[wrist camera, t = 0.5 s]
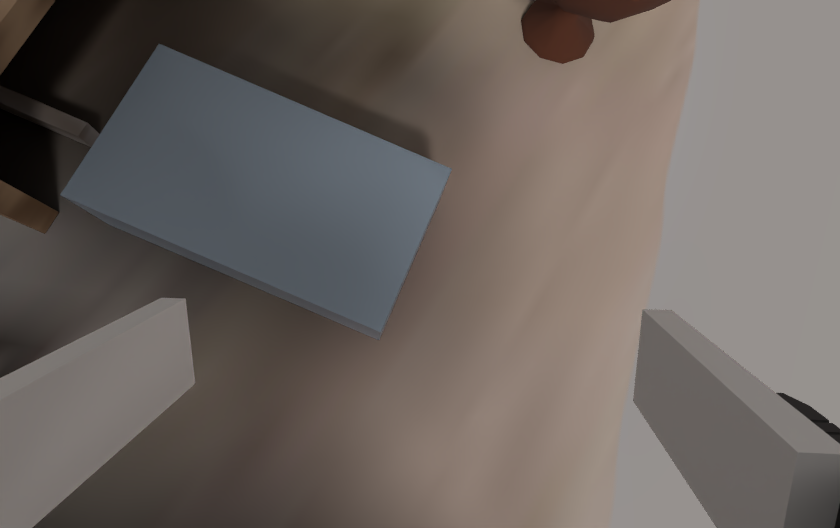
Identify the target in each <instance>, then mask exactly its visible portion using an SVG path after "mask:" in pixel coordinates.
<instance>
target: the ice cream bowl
mask: <svg viewBox="0 0 840 528" xmlns="http://www.w3.org/2000/svg"><path fill="white" fill-rule="evenodd" d="M669 1H671V0H536V1H535V2H534V3H533V4H532V5H531V7H530V8H529V10H528V11H527V13H526V14H525V16H524V17H523V19H522V20H521V22H522V29H523V36H524V41H525V42H526V43H527V44H528V45H529V46H530V47H531V49H532V50H533V51H534V52H535V53H536V54H537V55H538V56H539V57H540V58H544V59H547V60H551V61H555V62H558V63H562V64H563V63H567V62H570V61H573V60H576V59H579V58H582V57H583V56H584V55H585V53H586V52H587V50H588V48H589V47H590V45H591V43H592V42H593V39H594V30H593V25H592V19H595V20H599V21H604V22H610V23H611V22H614V21H617V20H620V19H623V18H627V17H630V16H633V15H636V14H639V13H642V12H645V11H649V10H652V9H654V8H656V7H658V6H660V5H662V4H665V3H667V2H669Z"/></svg>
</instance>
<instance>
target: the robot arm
mask: <svg viewBox="0 0 840 528" xmlns="http://www.w3.org/2000/svg"><path fill="white" fill-rule="evenodd" d="M194 384H195V377H194V368H193V359H192V350H191V342H190V333H189V324H188V315H187V307H186V298H160V299H158V300H156V301H154V302H152V303H150V304H148V305H146V306H144V307H142V308H140V309H138V310H136V311H134V312H132V313H130V314H128V315H126V316H124V317H122V318H120V319H118V320H116V321H114V322H112V323H110V324H108V325H106V326H104V327H102V328H100V329H98V330H96V331H94V332H92V333H90V334H88V335H86V336H84V337H82V338H80V339H78V340H76V341H74V342H72V343H70V344H68V345H66V346H64V347H62V348H60V349H58V350H56V351H54V352H52V353H50V354H48V355H46V356H44V357H42V358H40V359H38V360H36V361H34V362H32V363H30V364H28V365H26V366H24V367H22V368H20V369H18V370H16V371H14V372H12V373H10V374H8V375H6V376H4V377H2V378H0V528H32V527H34V526H35V525H36V524H37V523H38V522H39V521H40V520H41V519H43V518H44V517H45V516H46V515H47V514H48V513H49V512H51V511H52V510H53V509H54V508H55V507H56V506H57V505H58V504H60V503H61V502H62V501H63V500H64V499H65V498H66V497H68V496H69V495H70V494H71V493H72V492H73V491H74V490H75V489H77V488H78V487H79V486H80V485H81V484H82V483H83V482H85V481H86V480H87V479H88V478H89V477H90V476H91V475H92V474H94V473H95V472H96V471H97V470H98V469H99V468H100V467H102V466H103V465H104V464H105V463H106V462H107V461H108V460H109V459H111V458H112V457H113V456H114V455H115V454H116V453H117V452H119V451H120V450H121V449H122V448H123V447H124V446H125V445H126V444H128V443H129V442H130V441H131V440H132V439H133V438H134V437H136V436H137V435H138V434H139V433H140V432H141V431H142V430H143V429H145V428H146V427H147V426H148V425H149V424H150V423H151V422H153V421H154V420H155V419H156V418H157V417H158V416H159V415H160V414H162V413H163V412H164V411H165V410H166V409H167V408H168V407H170V406H171V405H172V404H173V403H174V402H175V401H176V400H177V399H179V398H180V397H181V396H182V395H183V394H184V393H185V392H186V391H188V390H189V389H190V388H191V387H192V386H193V385H194ZM633 401H634V403H635V404H636V406H637V407H638V409H639V410H640V412H641V413H642V415H643V416H644V418H645V420H646V421H647V423H648V424H649V426H650V427H651V429H652V430H653V432H654V433H655V435H656V436H657V438H658V439H659V441H660V442H661V444H662V445H663V447H664V448H665V450H666V451H667V453H668V454H669V456H670V457H671V459H672V461H673V462H674V464H675V465H676V467H677V468H678V470H679V471H680V473H681V474H682V476H683V477H684V479H685V480H686V482H687V483H688V485H689V486H690V488H691V489H692V491H693V492H694V494H695V495H696V497H697V498H698V500H699V501H700V503H701V504H702V506H703V507H704V509H705V511H706V512H707V514H708V515H709V517H710V518H711V520H712V521H713V523H714V524H715V526H716V527H717V528H840V429H839V428H838V427H837V426H836V425H834V424H833V423H829V420H827V419H826V418H825V417H824V416H822V415H821V414H819V413H818V412H817V411H816V410H814V409H813V408H812V407H810V406H808V405H807V404H805V403H802V402H800V401H798V400H796V399H794V398H792V397H790V396H788V395H786V394H784V393H775V392H774V391H773V390H771V389H770V388H769V387H768V386H766V385H765V384H764V383H763V382H761V381H760V380H759V379H758V378H756V377H755V376H754V375H752V374H751V373H750V372H749V371H747V370H746V369H745V368H744V367H742V366H741V365H740V364H739V363H737V362H736V361H735V360H734V359H732V358H731V357H730V356H729V355H727V354H726V353H725V352H724V351H722V350H721V349H720V348H718V347H717V346H716V345H715V344H714V343H712V342H711V341H710V340H709V339H707V338H706V337H705V336H704V335H702V334H701V333H700V332H698V331H697V330H696V329H695V328H693V327H692V326H691V325H690V324H688V323H687V322H686V321H685V320H683V319H682V318H681V317H679V316H678V315H677V314H676V313H675V312H673V311H672V310H647V309H643V311H642V320H641V330H640V340H639V349H638V359H637V369H636V378H635V388H634V399H633Z"/></svg>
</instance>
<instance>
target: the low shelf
mask: <svg viewBox="0 0 840 528" xmlns="http://www.w3.org/2000/svg"><path fill="white" fill-rule="evenodd" d="M54 2H55V0H0V75H1V73H2V72H3V71H4V69H5V68H6V67H7V65H8V64H9V62H10V61H11V60H12V58H13V57H14V56H15V54H16V53H17V52H18V50H19V49H20V48H21V46H22V45H23V44H24V42H25V41H26V39H27V38H28V37H29V35H30V34H31V33H32V31H33V30H34V29H35V27H36V26H37V25H38V23H39V22H40V21H41V19H42V18H43V16H44V15H45V14H46V12H47V11H48V10H49V8H50V7H51V6H52V4H53V3H54ZM0 108H1V109H3V110H5V111H8V112H10V113H12V114H15V115H17V116H19V117H22V118H24V119H26V120H29V121H31V122H33V123H36V124H38V125H40V126H43V127H45V128H47V129H50V130H52V131H54V132H57V133H59V134H61V135H64V136H66V137H68V138H71V139H73V140H75V141H78V142H80V143H82V144H85V145H87V146H89V147H92V145H93V144H94V142H95V141H96V139H97V138H98V136H99V135H100V134H99V133H98V132H97V131H96V130H95V129H94V128H93V127H92V126H90V125H89V124H88V123H87V122H85V121H82V120H80V119H78V118H75V117H73V116H71V115H68V114H66V113H64V112H61V111H59V110H57V109H54V108H52V107H50V106H47V105H45V104H43V103H40V102H38V101H36V100H33V99H31V98H29V97H26V96H24V95H22V94H19V93H17V92H15V91H12V90H10V89H8V88H5V87H3V86H1V85H0ZM58 213H59V212H58V211H56V210H54V209H52V208H50V207H49V206H47V205H45V204H43V203H41V202H39V201H38V200H36V199H34V198H32V197H30V196H28V195H27V194H25V193H23V192H21V191H19V190H18V189H16V188H14V187H12V186H10V185H8V184H7V183H5V182H3V181H1V180H0V215H2V216H5V217H7V218H9V219H12V220H14V221H16V222H19V223H21V224H23V225H26V226H28V227H30V228H33V229H35V230H37V231H40V232H42V233H44V234H45V233H46V232H47V230H48V229H49V227H50V226H51V224H52V222H53V221H54V219H55V218H56V216H57V215H58Z"/></svg>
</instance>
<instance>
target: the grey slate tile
mask: <svg viewBox="0 0 840 528" xmlns="http://www.w3.org/2000/svg"><path fill="white" fill-rule="evenodd" d="M451 170H452V169H451V168H449V167H446V166H444V165H442V164H439V163H437V162H435V161H432V160H430V159H428V158H425V157H423V156H421V155H418V154H416V153H414V152H411V151H409V150H407V149H404V148H402V147H400V146H397V145H395V144H393V143H390V142H388V141H385V140H383V139H381V138H378V137H376V136H374V135H371V134H369V133H367V132H364V131H362V130H360V129H357V128H355V127H353V126H350V125H348V124H346V123H343V122H341V121H339V120H336V119H334V118H332V117H329V116H327V115H325V114H322V113H320V112H318V111H315V110H313V109H311V108H308V107H306V106H304V105H301V104H299V103H297V102H294V101H292V100H290V99H287V98H285V97H283V96H280V95H278V94H276V93H273V92H271V91H269V90H266V89H264V88H262V87H259V86H257V85H255V84H252V83H250V82H248V81H245V80H243V79H241V78H238V77H236V76H234V75H231V74H229V73H227V72H224V71H222V70H220V69H217V68H215V67H213V66H210V65H208V64H206V63H203V62H201V61H199V60H196V59H194V58H192V57H189V56H187V55H185V54H182V53H180V52H178V51H175V50H173V49H171V48H168V47H166V46H164V45H161V44H158V46H157V47H156V49H155V50H154V52H153V53H152V55H151V57H150V58H149V60H148V61H147V63H146V64H145V66H144V67H143V69H142V70H141V72H140V73H139V75H138V76H137V78H136V80H135V81H134V83H133V84H132V86H131V87H130V89H129V90H128V92H127V93H126V95H125V96H124V98H123V99H122V101H121V102H120V104H119V106H118V107H117V109H116V110H115V112H114V113H113V115H112V116H111V118H110V119H109V121H108V122H107V124H106V125H105V127H104V129H103V130H102V132H101V133H100V135H99V136H98V138H97V139H96V141H95V142H94V144H93V145H92V147H91V148H90V150H89V151H88V153H87V155H86V156H85V158H84V159H83V161H82V162H81V164H80V165H79V167H78V168H77V170H76V171H75V173H74V174H73V176H72V178H71V179H70V181H69V182H68V184H67V185H66V187H65V188H64V190H63V191H62V193H61V194H60V195H61V196H62V197H64V198H66V199H67V200H69V201H71V202H72V203H74V204H76V205H77V206H79V207H81V208H82V209H84V210H86V211H87V212H89V213H91V214H92V215H94V216H95V217H97V218H99V219H100V220H102V221H104V222H105V223H107V224H109V225H111V226H113V227H116V228H118V229H120V230H123V231H125V232H127V233H130V234H132V235H134V236H137V237H139V238H141V239H144V240H146V241H148V242H151V243H153V244H155V245H158V246H160V247H162V248H165V249H167V250H169V251H172V252H174V253H176V254H179V255H181V256H183V257H186V258H188V259H190V260H193V261H195V262H197V263H200V264H202V265H204V266H207V267H209V268H211V269H214V270H216V271H218V272H221V273H223V274H225V275H228V276H230V277H232V278H235V279H237V280H239V281H242V282H244V283H246V284H249V285H251V286H253V287H256V288H258V289H260V290H263V291H265V292H267V293H270V294H272V295H274V296H277V297H279V298H281V299H284V300H286V301H288V302H291V303H293V304H295V305H298V306H300V307H302V308H305V309H307V310H309V311H312V312H314V313H316V314H319V315H321V316H323V317H326V318H328V319H330V320H333V321H335V322H337V323H340V324H342V325H344V326H347V327H349V328H351V329H354V330H356V331H358V332H361V333H363V334H365V335H368V336H370V337H372V338H375V339H377V340H379V339H380V337H381V335H382V332H383V330H384V328H385V326H386V323H387V321H388V319H389V316H390V314H391V312H392V309H393V307H394V305H395V302H396V300H397V298H398V296H399V293H400V291H401V289H402V286H403V284H404V282H405V279H406V277H407V275H408V272H409V270H410V268H411V265H412V263H413V261H414V259H415V256H416V254H417V252H418V249H419V247H420V245H421V242H422V240H423V238H424V235H425V233H426V231H427V229H428V226H429V224H430V222H431V219H432V217H433V215H434V212H435V210H436V208H437V205H438V203H439V201H440V198H441V196H442V193H443V191H444V188H445V185H446V183H447V180H448V178H449V175H450V172H451Z"/></svg>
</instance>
